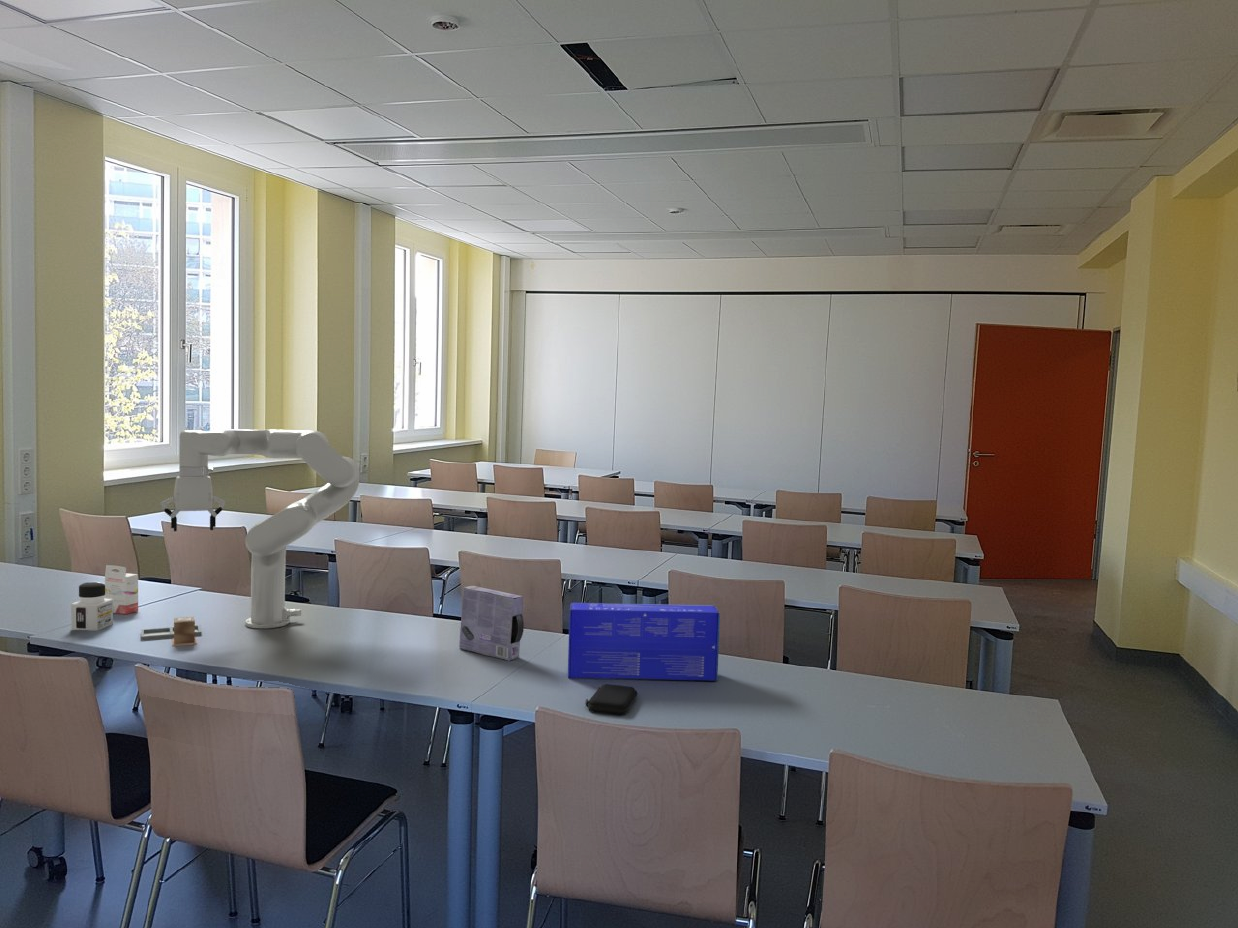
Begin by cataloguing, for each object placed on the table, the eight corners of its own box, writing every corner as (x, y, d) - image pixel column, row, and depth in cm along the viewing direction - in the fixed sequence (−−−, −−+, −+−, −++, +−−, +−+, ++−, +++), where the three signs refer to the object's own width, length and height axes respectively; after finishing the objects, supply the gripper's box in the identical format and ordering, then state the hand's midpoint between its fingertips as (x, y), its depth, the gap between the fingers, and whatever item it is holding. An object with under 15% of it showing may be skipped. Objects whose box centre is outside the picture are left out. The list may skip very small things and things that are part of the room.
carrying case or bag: (596, 692, 216) (580, 713, 202) (596, 680, 216) (581, 700, 201) (638, 697, 214) (625, 718, 199) (639, 685, 213) (626, 705, 199)
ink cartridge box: (139, 611, 273) (139, 564, 271) (126, 614, 268) (126, 567, 267) (117, 608, 275) (117, 562, 274) (104, 611, 270) (103, 564, 269)
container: (97, 631, 249) (97, 586, 248) (70, 630, 249) (70, 585, 248) (113, 624, 257) (113, 580, 256) (87, 623, 257) (87, 579, 256)
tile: (195, 639, 246) (195, 636, 246) (196, 644, 240) (196, 642, 240) (171, 641, 243) (171, 638, 243) (172, 646, 238) (172, 644, 238)
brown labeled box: (194, 637, 245) (194, 616, 244) (194, 642, 241) (194, 620, 240) (174, 639, 243) (174, 617, 242) (174, 644, 238) (174, 622, 238)
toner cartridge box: (712, 672, 235) (716, 604, 233) (717, 683, 226) (721, 612, 225) (567, 668, 233) (570, 600, 232) (567, 679, 225) (569, 608, 223)
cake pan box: (523, 657, 241) (525, 594, 239) (512, 662, 236) (514, 597, 235) (469, 645, 250) (471, 584, 249) (458, 649, 246) (459, 587, 245)
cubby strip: (200, 629, 256) (200, 624, 256) (201, 636, 249) (201, 631, 249) (141, 633, 248) (141, 629, 248) (140, 641, 242) (140, 636, 241)
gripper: (224, 470, 264) (224, 527, 265) (160, 471, 256) (160, 529, 257) (226, 473, 257) (226, 531, 259) (160, 473, 249) (160, 533, 251)
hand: (193, 530), depth 258 cm, fingers open, 9 cm apart
